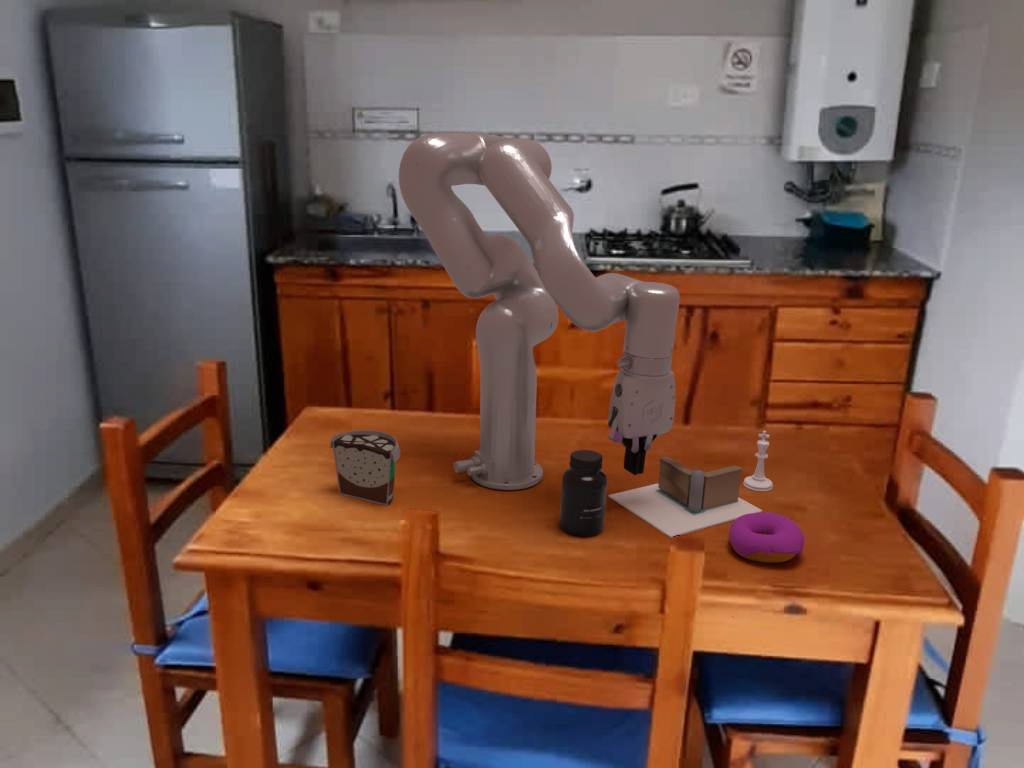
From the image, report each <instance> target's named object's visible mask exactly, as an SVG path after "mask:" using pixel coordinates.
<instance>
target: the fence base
mask: <svg viewBox="0 0 1024 768" xmlns="http://www.w3.org/2000/svg"><path fill="white" fill-rule="evenodd" d="M742 472H743V468H742V467H740V466H738V465H735V464H734V465H731V466H727V467H723V468H718V469H715V470H714V469H713V470H711V471H706V472H705V471H704V470H701V469H693V470H692V474H691V484H690V495H689V505H685V504H684V503H682V502H680V501H679V500H677V499H676V498H674V497H673V496H671V495H669V494H668V493H666V492H665V491H663V490H662V489H660V488H658V485H659V482H658V483H654V484H649V485H646V486H641V487H637V488H633V489H628V490H624V491H620V492H615V493H611V494H607V495H608V496H607V497H608V498H609V499H611V500H612V501H614V502H616V503H617V504H619V505H620V506H621V507H622V508H624V509H626V510H627V511H629V512H631V513H632V514H633V515H635V516H637V517H638V518H640V519H641V520H643V521H644V522H646V523H647V524H649V525H650V526H652V527H654V528H655V529H656V530H658V531H659V532H661V533H662V534H663V535H666V536H667V537H669V538H670V539H673V538H674V537H673V536H676V535H680V536H682V535H686V534H690V533H693V532H696V531H701V530H704V529H705V530H706V529H708V528H711V527H714V526H718V525H721V524H725V523H729V522H734V521H735V520H736V519H737V518H738V517H740V516H742V515H745V514H750V513H764V512H763V509H760V508H759V507H757V506H755V505H753V504H751V503H750V502H747V501H746V500H744V499H743V498H740V497H739V494H740V487H741V486H740V484H741V476H742ZM676 537H677V536H676Z"/></svg>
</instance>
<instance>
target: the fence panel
mask: <svg viewBox="0 0 1024 768" xmlns="http://www.w3.org/2000/svg"><path fill="white" fill-rule="evenodd" d="M659 462H660V464H659V472H658V473H659V476H658V483H659V485H658V488H660V489H662V490H663V491H665V492H666V493H668V494H669V495H671V496H673V497H674V498H676V499H677V500H679V501H680V502H682V503H684V504H685V505H689V495H690V484H691V474H692V471H693V470H692V469H690V468H688V467H687V466H686V465H683V464H681V463H680V462H677V461H676V460H674V459H673V458H671V457H669V456H663V457H659Z"/></svg>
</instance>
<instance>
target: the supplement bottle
mask: <svg viewBox="0 0 1024 768" xmlns="http://www.w3.org/2000/svg"><path fill="white" fill-rule="evenodd" d="M568 464H569V468H566V469H565V471H564V472H563V473H562V477H561V478H562V479H561V493H560V494H561V496H560V508H559V509H560V511H559V525H560V528H561V529H562V530H563V531H564V532H565V533H568V534H569V535H572V536H576V537H583V538H584V537H592V536H593V537H594V536H596V535H598V534H600V533H601V532H602V531H603V529H604V527H605V518H606V507H607V506H606V504H607V493H608V491H607V489H608V478H607V475H606V473H605V472H604V471H603V470H602V469H603V455H602V454H601V452H600V453H599V452H598V451H595V450H590V449H578V450H574V451H572V452H571V453H570V459H569V463H568Z"/></svg>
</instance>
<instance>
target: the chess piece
mask: <svg viewBox="0 0 1024 768" xmlns="http://www.w3.org/2000/svg"><path fill="white" fill-rule="evenodd" d="M758 438H762V439H759V440H757V441H756V444H757V449H758V452H755V454H754V456H755V457H757V463H756V467H755V470H754V473H753V474H752V475H749V476H746V477H745V478H744V479H743V482H742V483H743V485H744V486H743V487H745V488H747V489H749V490H750V491H751V490H752V491H756V492H768V491H771V490H772V489H773V488H774V486H773V484H774V483H773V482H772V480H770V479H769V478H767V476H765V459H767V458H768V457H769V454H768V453H766V452H767V449H768V447H769V445H770V442H769V441H768V440H766V439H770V434H767V430H762V434H761V433H759V434H758Z"/></svg>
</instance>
